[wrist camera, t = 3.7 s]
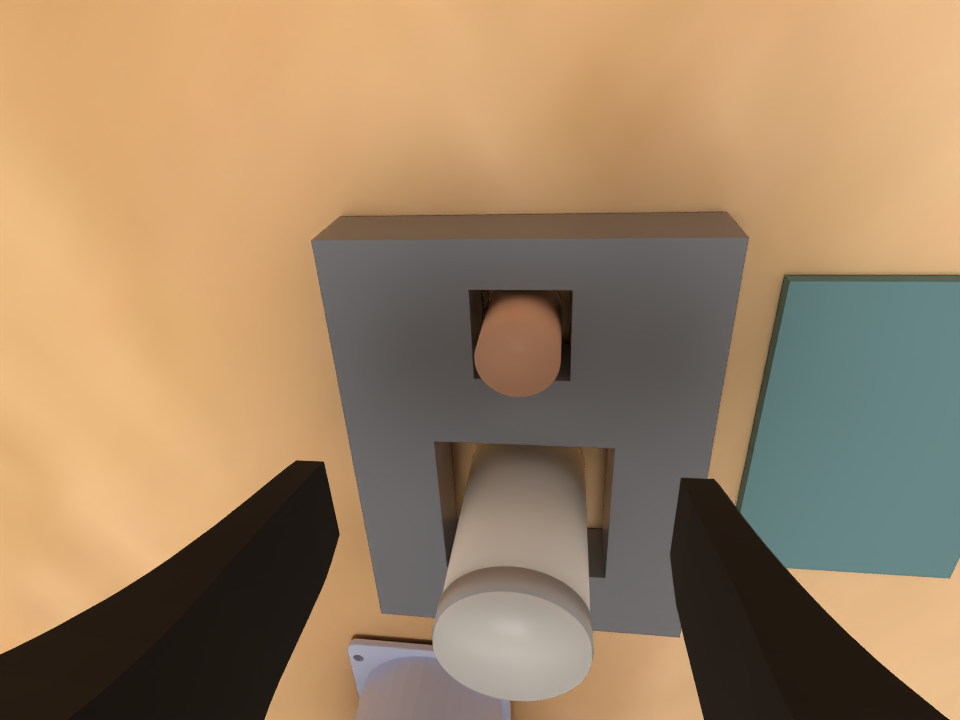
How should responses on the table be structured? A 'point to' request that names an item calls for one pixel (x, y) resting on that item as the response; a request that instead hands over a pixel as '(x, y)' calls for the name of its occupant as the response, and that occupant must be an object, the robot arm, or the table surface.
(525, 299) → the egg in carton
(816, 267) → the table surface
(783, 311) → the mat
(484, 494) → the filter cartridge
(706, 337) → the grey board with holes
